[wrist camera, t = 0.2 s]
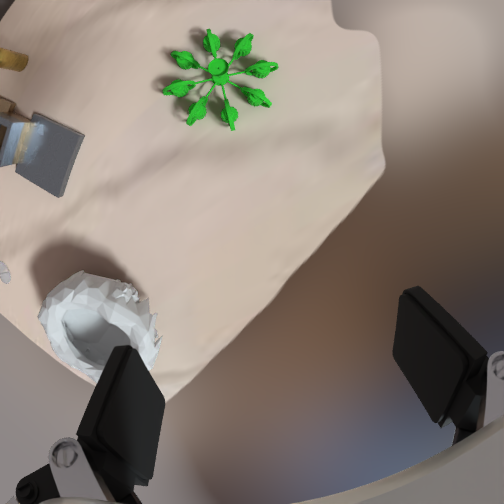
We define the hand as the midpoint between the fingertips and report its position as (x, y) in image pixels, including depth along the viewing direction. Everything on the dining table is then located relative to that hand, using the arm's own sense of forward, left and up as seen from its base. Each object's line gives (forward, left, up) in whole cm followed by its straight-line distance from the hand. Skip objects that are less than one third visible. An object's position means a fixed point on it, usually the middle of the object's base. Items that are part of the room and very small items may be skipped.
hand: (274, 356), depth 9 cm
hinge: (+8, -40, -31) cm, 51 cm away
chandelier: (-12, -10, -32) cm, 36 cm away
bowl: (+28, -11, -31) cm, 43 cm away
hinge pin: (-4, -47, -31) cm, 56 cm away
